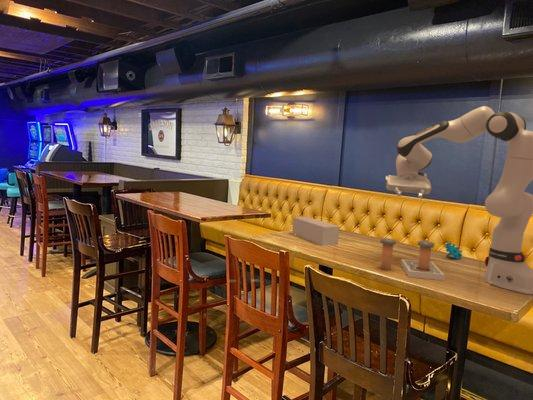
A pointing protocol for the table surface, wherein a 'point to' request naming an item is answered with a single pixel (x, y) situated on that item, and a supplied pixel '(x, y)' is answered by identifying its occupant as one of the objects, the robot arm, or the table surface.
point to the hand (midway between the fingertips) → (409, 196)
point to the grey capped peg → (424, 254)
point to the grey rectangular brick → (316, 230)
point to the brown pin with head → (387, 253)
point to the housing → (414, 272)
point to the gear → (453, 251)
